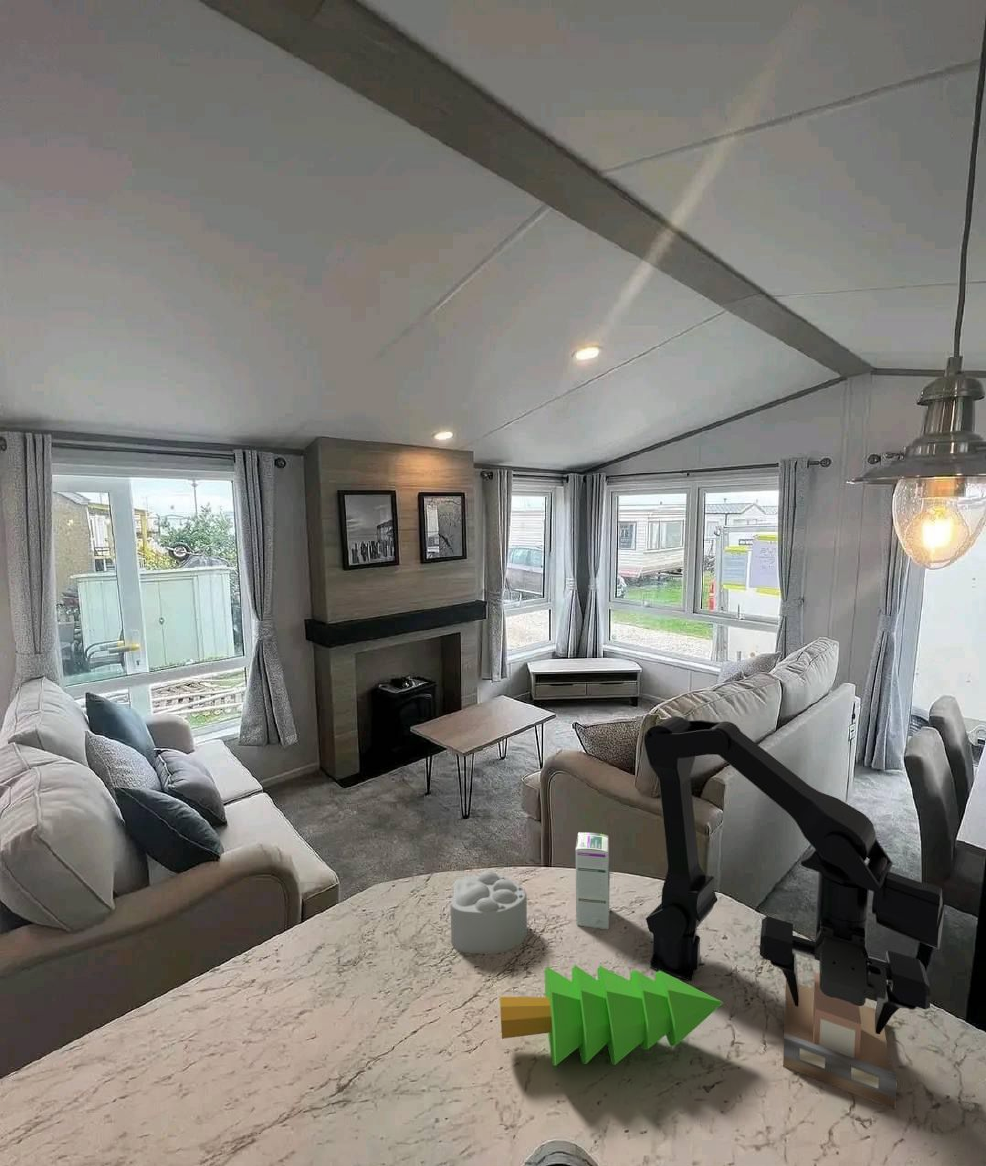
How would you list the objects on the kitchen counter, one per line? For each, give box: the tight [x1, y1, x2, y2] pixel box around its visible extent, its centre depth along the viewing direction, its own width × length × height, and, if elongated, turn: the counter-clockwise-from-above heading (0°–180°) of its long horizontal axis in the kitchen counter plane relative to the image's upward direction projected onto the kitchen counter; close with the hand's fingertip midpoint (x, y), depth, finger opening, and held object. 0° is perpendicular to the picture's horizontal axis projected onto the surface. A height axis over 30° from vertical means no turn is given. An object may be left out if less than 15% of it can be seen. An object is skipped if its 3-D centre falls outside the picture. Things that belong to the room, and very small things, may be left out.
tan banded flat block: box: [782, 979, 898, 1110], centre depth 77 cm, size 12×14×4 cm
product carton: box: [812, 971, 861, 1060], centre depth 76 cm, size 7×5×6 cm
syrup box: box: [575, 831, 611, 930], centre depth 102 cm, size 6×6×14 cm
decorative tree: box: [499, 965, 724, 1067], centre depth 77 cm, size 11×12×30 cm
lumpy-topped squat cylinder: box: [449, 870, 528, 954], centre depth 99 cm, size 10×13×9 cm
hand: (835, 1017), depth 76 cm, fingers open, 9 cm apart
